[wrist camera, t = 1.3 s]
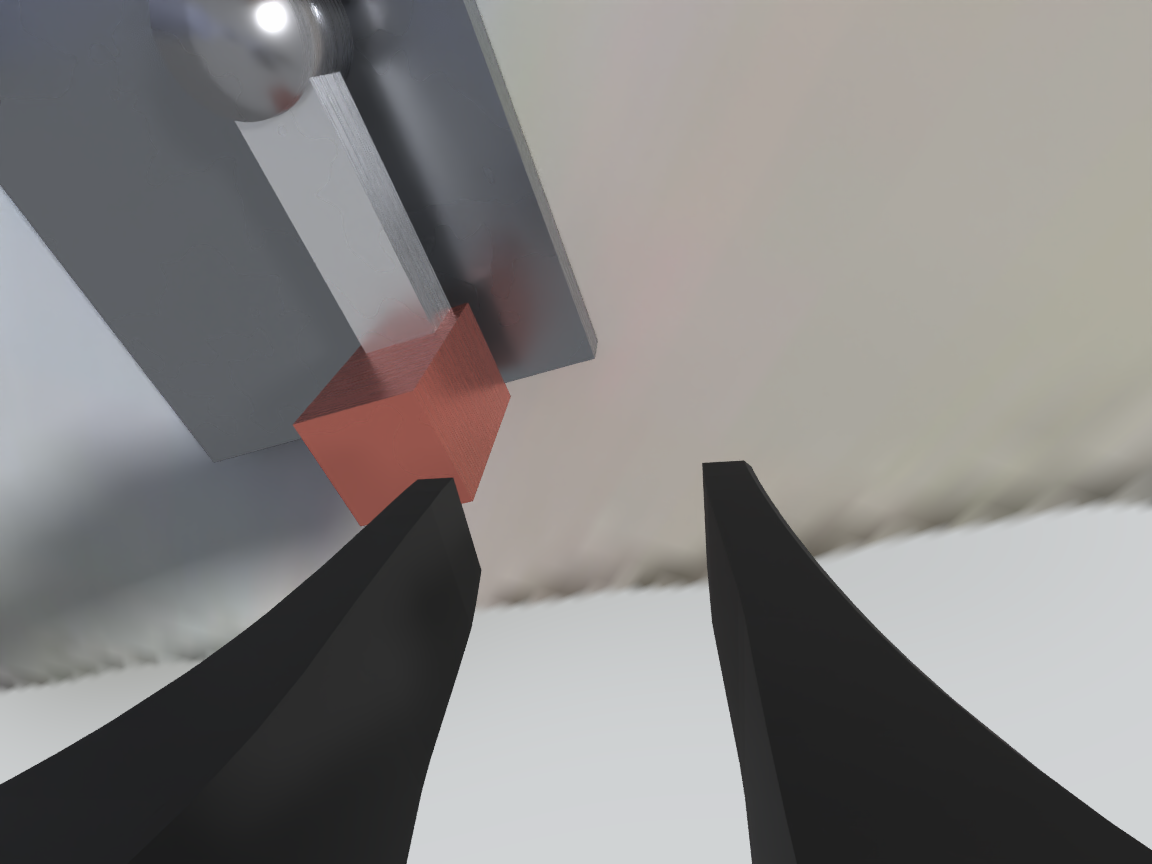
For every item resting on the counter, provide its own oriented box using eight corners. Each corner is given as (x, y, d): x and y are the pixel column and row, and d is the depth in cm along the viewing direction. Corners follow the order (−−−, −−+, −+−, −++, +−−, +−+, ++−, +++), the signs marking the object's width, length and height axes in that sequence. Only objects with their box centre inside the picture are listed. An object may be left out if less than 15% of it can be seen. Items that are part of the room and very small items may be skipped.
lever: (196, -16, 14) (-9, -25, 10) (308, -73, 14) (141, -113, 9) (425, 409, 20) (360, 526, 16) (514, 386, 19) (472, 501, 15)
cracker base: (232, 443, 24) (95, 586, 18) (-87, 9, 17) (-480, 10, 11) (610, 337, 20) (593, 474, 14) (397, -275, 13) (192, -501, 7)
